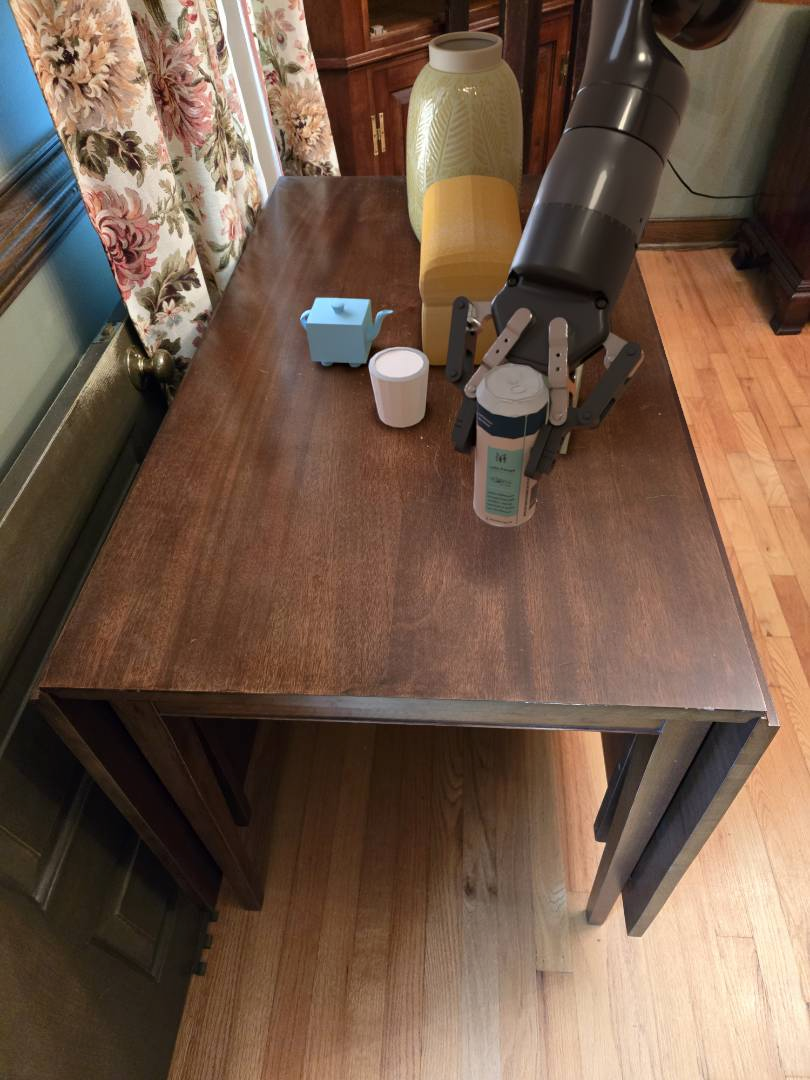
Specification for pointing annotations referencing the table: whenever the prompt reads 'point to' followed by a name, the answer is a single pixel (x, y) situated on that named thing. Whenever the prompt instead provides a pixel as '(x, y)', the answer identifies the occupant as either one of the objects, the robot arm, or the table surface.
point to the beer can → (507, 443)
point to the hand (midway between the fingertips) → (496, 464)
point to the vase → (463, 118)
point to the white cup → (400, 385)
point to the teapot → (341, 330)
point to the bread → (464, 254)
